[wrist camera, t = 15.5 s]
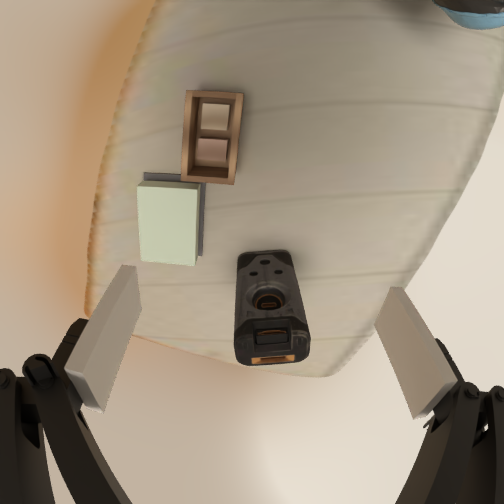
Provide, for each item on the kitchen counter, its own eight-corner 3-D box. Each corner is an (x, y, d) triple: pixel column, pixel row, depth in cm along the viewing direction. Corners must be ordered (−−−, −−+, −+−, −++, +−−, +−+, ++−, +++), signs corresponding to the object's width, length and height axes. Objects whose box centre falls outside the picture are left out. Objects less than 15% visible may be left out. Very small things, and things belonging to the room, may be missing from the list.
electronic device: (291, 248, 50) (312, 331, 33) (291, 277, 53) (309, 363, 36) (236, 252, 51) (231, 337, 33) (239, 281, 54) (237, 368, 36)
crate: (195, 91, 37) (186, 90, 31) (243, 94, 38) (243, 93, 32) (190, 168, 43) (180, 181, 37) (235, 172, 44) (233, 185, 38)
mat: (144, 172, 43) (143, 173, 43) (205, 175, 44) (205, 176, 44) (147, 249, 50) (146, 250, 50) (202, 254, 51) (201, 256, 50)
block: (146, 178, 43) (136, 186, 39) (201, 181, 44) (197, 189, 40) (148, 247, 49) (141, 260, 45) (199, 252, 50) (195, 265, 46)
